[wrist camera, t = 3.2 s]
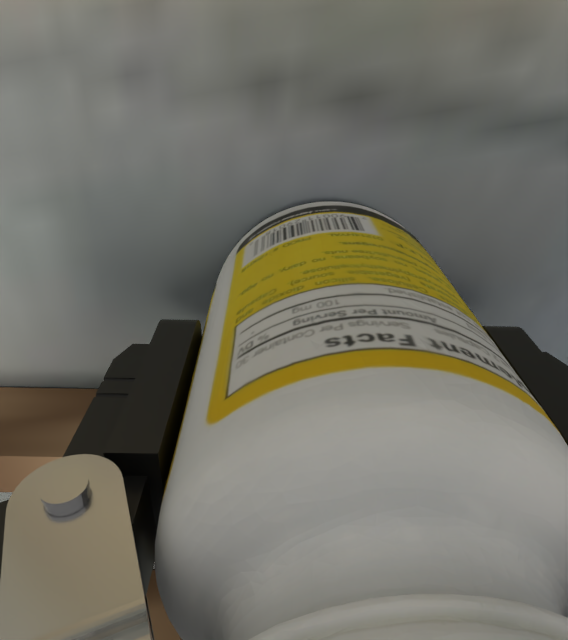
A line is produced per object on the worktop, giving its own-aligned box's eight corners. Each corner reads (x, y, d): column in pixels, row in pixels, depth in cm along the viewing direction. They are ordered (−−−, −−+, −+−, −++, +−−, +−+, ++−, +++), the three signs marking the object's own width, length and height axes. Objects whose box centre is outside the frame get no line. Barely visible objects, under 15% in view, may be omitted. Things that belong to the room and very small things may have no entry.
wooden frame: (217, 391, 13) (204, 459, 11) (227, 590, 18) (221, 665, 16) (-129, 385, 13) (-211, 452, 11) (-27, 587, 18) (-70, 663, 16)
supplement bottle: (342, 419, 14) (440, 1018, 5) (176, 326, 12) (-62, 968, 4) (483, 278, 12) (1033, 922, 3) (301, 143, 10) (411, 700, 2)
